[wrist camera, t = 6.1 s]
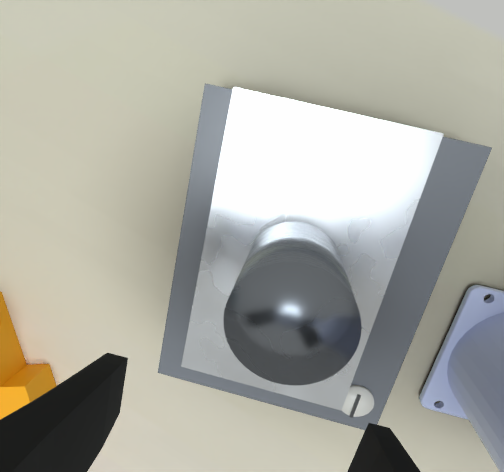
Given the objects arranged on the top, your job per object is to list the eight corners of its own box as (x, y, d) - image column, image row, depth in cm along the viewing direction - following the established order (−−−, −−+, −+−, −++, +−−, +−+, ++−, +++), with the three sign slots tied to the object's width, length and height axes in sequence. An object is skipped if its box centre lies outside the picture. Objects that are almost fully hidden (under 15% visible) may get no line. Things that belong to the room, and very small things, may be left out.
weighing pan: (435, 133, 14) (444, 133, 13) (339, 397, 18) (341, 410, 17) (237, 89, 14) (233, 86, 13) (186, 355, 18) (180, 366, 17)
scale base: (459, 145, 17) (496, 147, 14) (363, 392, 21) (374, 437, 18) (220, 91, 18) (203, 82, 14) (176, 341, 22) (155, 376, 19)
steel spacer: (353, 234, 14) (380, 282, 9) (327, 319, 15) (339, 400, 11) (258, 211, 15) (237, 247, 10) (239, 296, 16) (212, 365, 11)
